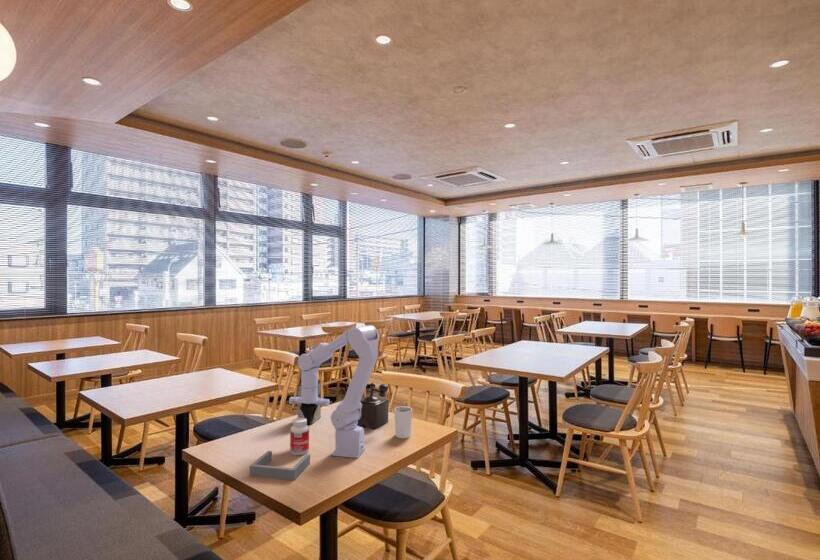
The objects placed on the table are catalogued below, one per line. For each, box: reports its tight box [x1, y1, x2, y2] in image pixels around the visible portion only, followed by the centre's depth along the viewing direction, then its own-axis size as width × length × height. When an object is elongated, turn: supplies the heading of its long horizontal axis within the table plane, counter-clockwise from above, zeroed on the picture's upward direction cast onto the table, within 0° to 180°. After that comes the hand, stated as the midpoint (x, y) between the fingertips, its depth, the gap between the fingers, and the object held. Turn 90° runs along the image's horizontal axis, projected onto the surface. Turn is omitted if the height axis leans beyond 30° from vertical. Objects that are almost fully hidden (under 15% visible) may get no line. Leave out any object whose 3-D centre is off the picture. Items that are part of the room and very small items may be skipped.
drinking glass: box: [394, 405, 413, 439], centre depth 165 cm, size 7×7×10 cm
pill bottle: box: [289, 417, 310, 456], centre depth 149 cm, size 6×6×11 cm
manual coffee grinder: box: [357, 382, 390, 430], centre depth 176 cm, size 16×11×18 cm
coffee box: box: [297, 379, 322, 426], centre depth 180 cm, size 9×6×16 cm
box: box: [249, 450, 311, 481], centre depth 136 cm, size 14×11×3 cm
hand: (309, 424), depth 157 cm, fingers closed
